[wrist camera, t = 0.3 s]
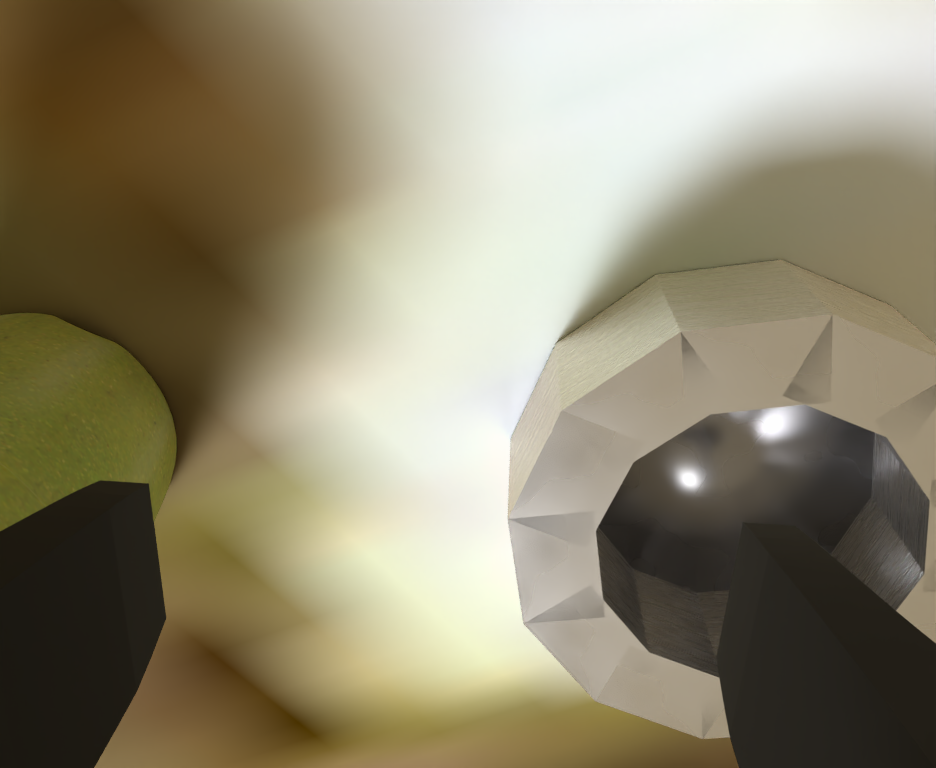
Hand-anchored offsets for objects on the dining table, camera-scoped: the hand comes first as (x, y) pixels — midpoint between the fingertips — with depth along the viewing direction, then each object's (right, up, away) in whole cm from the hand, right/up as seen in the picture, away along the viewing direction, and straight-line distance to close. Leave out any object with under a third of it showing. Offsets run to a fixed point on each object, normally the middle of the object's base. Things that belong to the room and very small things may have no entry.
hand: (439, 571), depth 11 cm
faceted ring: (+7, 0, +10) cm, 12 cm away
